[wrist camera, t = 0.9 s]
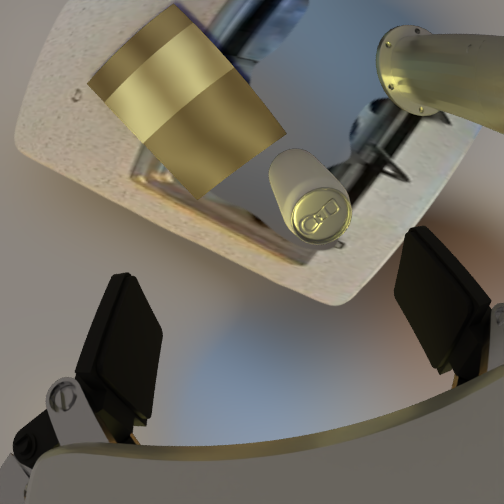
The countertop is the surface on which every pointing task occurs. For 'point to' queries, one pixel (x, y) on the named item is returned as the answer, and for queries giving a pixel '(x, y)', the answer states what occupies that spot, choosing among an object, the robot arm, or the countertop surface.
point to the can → (309, 197)
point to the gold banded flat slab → (186, 102)
